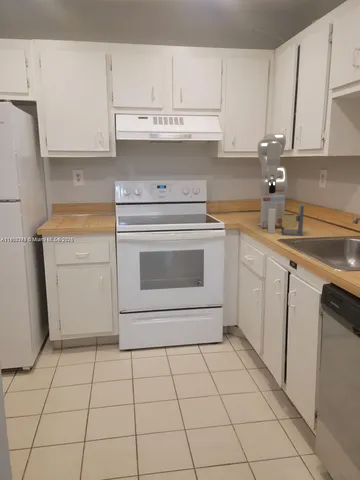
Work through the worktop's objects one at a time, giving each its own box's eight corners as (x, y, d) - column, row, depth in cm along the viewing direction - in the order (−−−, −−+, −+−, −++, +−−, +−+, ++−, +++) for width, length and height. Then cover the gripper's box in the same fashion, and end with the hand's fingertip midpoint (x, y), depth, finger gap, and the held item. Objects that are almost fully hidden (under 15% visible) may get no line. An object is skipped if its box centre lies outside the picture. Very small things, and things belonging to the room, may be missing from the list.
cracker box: (281, 226, 242) (282, 194, 238) (284, 228, 236) (285, 195, 232) (260, 227, 241) (261, 195, 238) (262, 228, 236) (263, 195, 232)
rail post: (267, 231, 225) (268, 208, 222) (274, 231, 224) (275, 208, 221) (267, 232, 221) (268, 209, 218) (274, 232, 220) (275, 209, 217)
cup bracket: (281, 230, 227) (282, 203, 224) (300, 231, 224) (302, 203, 221) (281, 235, 212) (282, 205, 209) (302, 235, 209) (304, 206, 206)
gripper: (267, 164, 224) (266, 192, 227) (265, 163, 207) (264, 193, 210) (280, 163, 222) (279, 192, 224) (279, 162, 205) (278, 193, 208)
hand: (272, 192), depth 217 cm, fingers open, 9 cm apart
